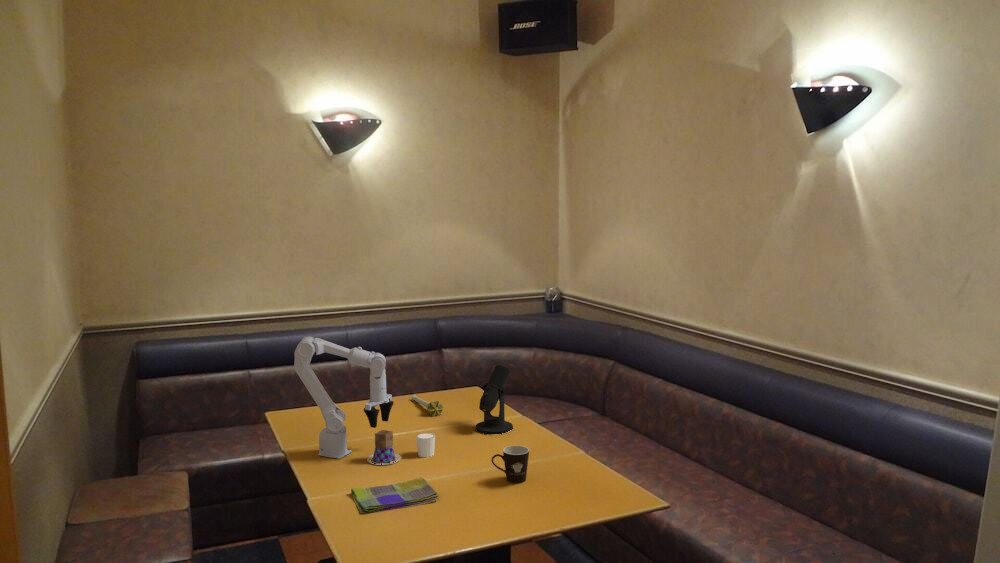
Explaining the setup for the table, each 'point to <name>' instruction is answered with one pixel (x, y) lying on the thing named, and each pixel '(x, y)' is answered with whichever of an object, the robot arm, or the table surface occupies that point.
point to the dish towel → (394, 496)
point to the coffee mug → (514, 463)
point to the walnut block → (383, 439)
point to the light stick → (430, 406)
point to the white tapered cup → (425, 444)
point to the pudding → (384, 456)
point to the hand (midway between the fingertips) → (379, 424)
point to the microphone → (494, 403)
